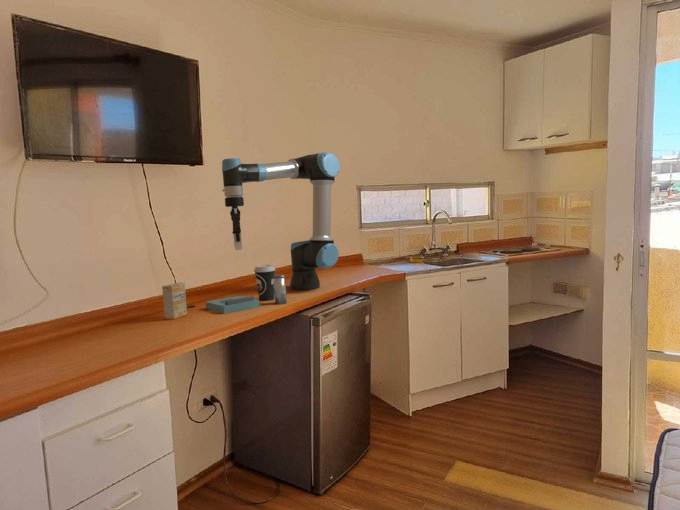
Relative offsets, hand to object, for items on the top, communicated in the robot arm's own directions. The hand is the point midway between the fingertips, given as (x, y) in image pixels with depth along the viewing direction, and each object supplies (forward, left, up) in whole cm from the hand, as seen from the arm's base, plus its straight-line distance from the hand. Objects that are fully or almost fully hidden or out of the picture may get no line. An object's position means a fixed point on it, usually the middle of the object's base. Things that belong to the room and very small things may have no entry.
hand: (238, 248), depth 216 cm
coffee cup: (-15, -5, -25) cm, 29 cm away
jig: (+4, -1, -25) cm, 25 cm away
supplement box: (+27, -4, -25) cm, 37 cm away
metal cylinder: (-14, +8, -25) cm, 29 cm away
